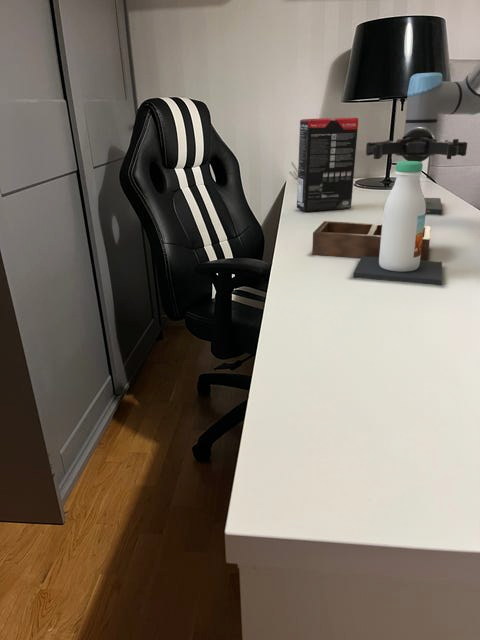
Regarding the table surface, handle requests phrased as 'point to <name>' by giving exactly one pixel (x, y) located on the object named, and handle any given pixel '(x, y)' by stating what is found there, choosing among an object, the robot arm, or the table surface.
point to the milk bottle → (403, 220)
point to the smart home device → (433, 206)
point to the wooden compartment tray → (355, 240)
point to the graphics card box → (326, 163)
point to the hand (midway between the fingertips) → (413, 151)
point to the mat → (424, 274)
